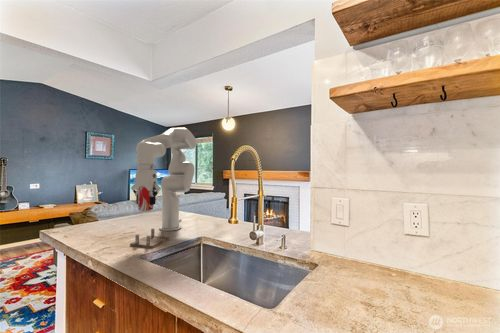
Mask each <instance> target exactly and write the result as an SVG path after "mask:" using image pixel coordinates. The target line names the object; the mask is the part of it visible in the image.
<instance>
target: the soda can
mask: <svg viewBox="0 0 500 333" xmlns="http://www.w3.org/2000/svg"><path fill="white" fill-rule="evenodd" d="M139 187H140V188H139V189H138V204H137V209H138V211H140V212H142V213H143V212H145V213H146V212H151V211H153V209H154V205H150V197H151V195H150V191H148V190H147V189H146V187H141V186H139Z"/></svg>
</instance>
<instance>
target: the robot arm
mask: <svg viewBox="0 0 500 333" xmlns="http://www.w3.org/2000/svg"><path fill="white" fill-rule="evenodd" d="M196 147H197V139H196V137H195V136H194V134H193V133H192V132H191V131H190V130H189V129H188V128H186V127H171V128H168V129H166V130H165V131H164V132H162V133H161V134H159V135H158V134H157V135H154V136H150V137H148V138H145V139H143V140H142V141H140V142H138V143H137V145H136V148H135V151H136V154H137V155H136V156H137V158H136V160H137V162H136V163H137V169H136V172H135V176H134V184H133V185H132V186H131V188H130V189H131V191H132V192H133V193H134V196H135V198H136V199H135V201H136V202H135V204H136V205H138V189H139V188H140V187H139V186H141V187H146V189H147V190H148V191H150V195H151V197H150V205H153V206H154V205H156V196H157V195H158V194H159V193H160V191H161V194H162V199H161V200H162V202H161V203H162V211H161V213H162V214H161V216H162V218H161V225H160V226H158V227H159V230H160V231H161V230H162V229H165V232H172V231H178V230H180V229H182V225H181V224H180V223H181V222H182V219H181V218H180V197H179V196H178V194H177V193H188V192H189V191H190V189H191V187H192V182H193V178H194V176H195V165H194V163H193V162H191V161H186V159H187V157H186V155H185V154H184V152H183V151H182V150H193V149H195V148H196ZM169 148H170V152H171V154H172V156H171V159H170V163H169V165H168V170H167V172H168V175H166V176H164V177H162V178H161V180H160V186H159V185H158V174H157V171H156V170H155V169H156V168H157V166H156V165H155V158H162V157H164V156H165V154H166V152H167V149H169Z"/></svg>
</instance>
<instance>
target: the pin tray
mask: <svg viewBox="0 0 500 333" xmlns="http://www.w3.org/2000/svg"><path fill="white" fill-rule="evenodd" d="M160 232H161V233H160V234H161V235H160V236H159V235H155V228H151V229H150V235H146V236H145V237H142V238H140V234H138V233H137V234H135V236H134V237H135V238H134V239H135V240H134V241H133V242H130V243H129V246H130V247H134V248H135V247H137V248H143V249H145V248H146V249H154V248H157V247H158V246H160V245H162V244H164V243H166V242H168V241H169V240H170V237H168V236H166V235H165V234H166V231H165V229H162V230H160Z"/></svg>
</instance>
